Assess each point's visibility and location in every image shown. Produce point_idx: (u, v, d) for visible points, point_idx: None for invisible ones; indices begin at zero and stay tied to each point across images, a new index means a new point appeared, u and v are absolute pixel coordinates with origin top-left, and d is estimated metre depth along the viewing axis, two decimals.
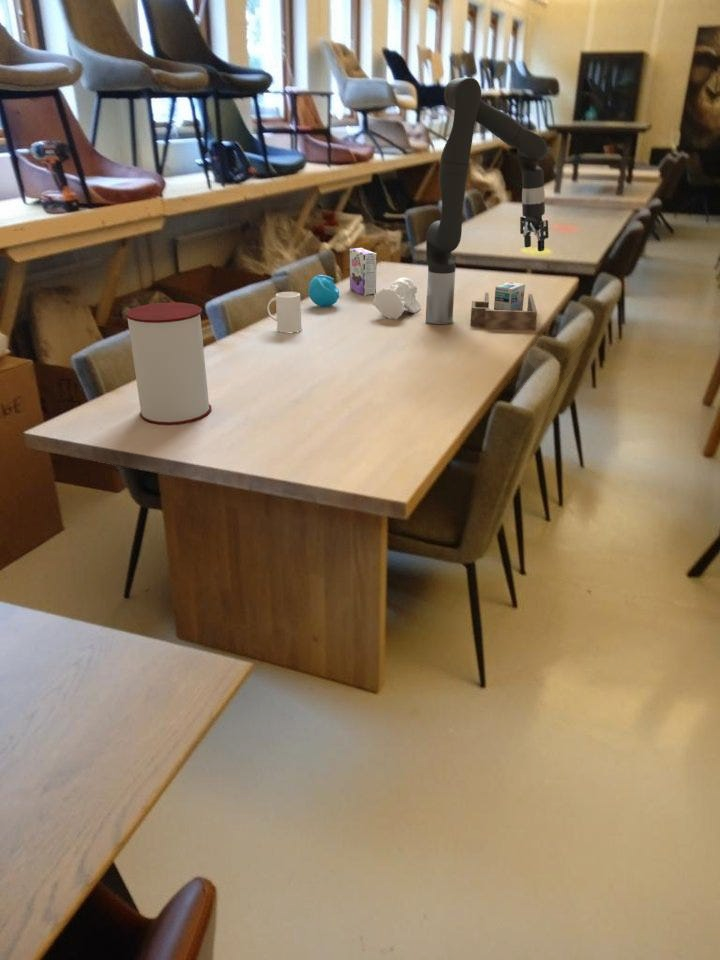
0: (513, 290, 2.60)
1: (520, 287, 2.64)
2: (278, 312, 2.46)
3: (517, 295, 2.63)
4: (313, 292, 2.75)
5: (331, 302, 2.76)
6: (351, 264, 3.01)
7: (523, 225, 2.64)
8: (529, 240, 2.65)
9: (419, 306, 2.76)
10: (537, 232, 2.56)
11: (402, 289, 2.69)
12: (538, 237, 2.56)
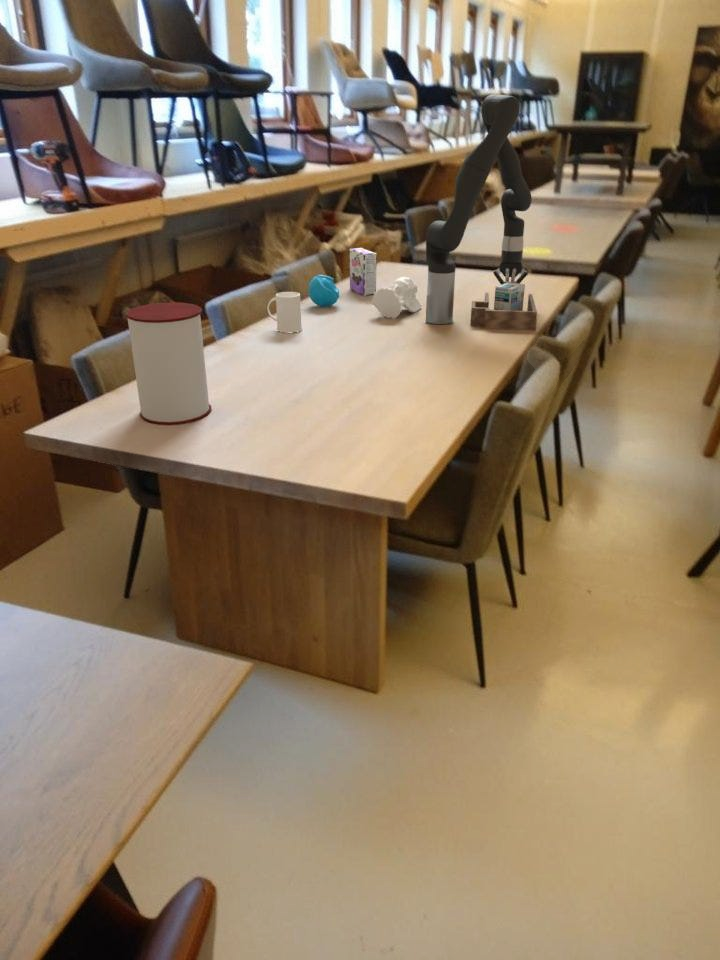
0: (513, 290, 2.60)
1: (520, 287, 2.64)
2: (278, 312, 2.46)
3: (517, 295, 2.63)
4: (313, 292, 2.75)
5: (331, 302, 2.76)
6: (351, 264, 3.01)
7: (500, 277, 2.73)
8: None
9: (419, 306, 2.76)
10: None
11: (402, 288, 2.70)
12: None
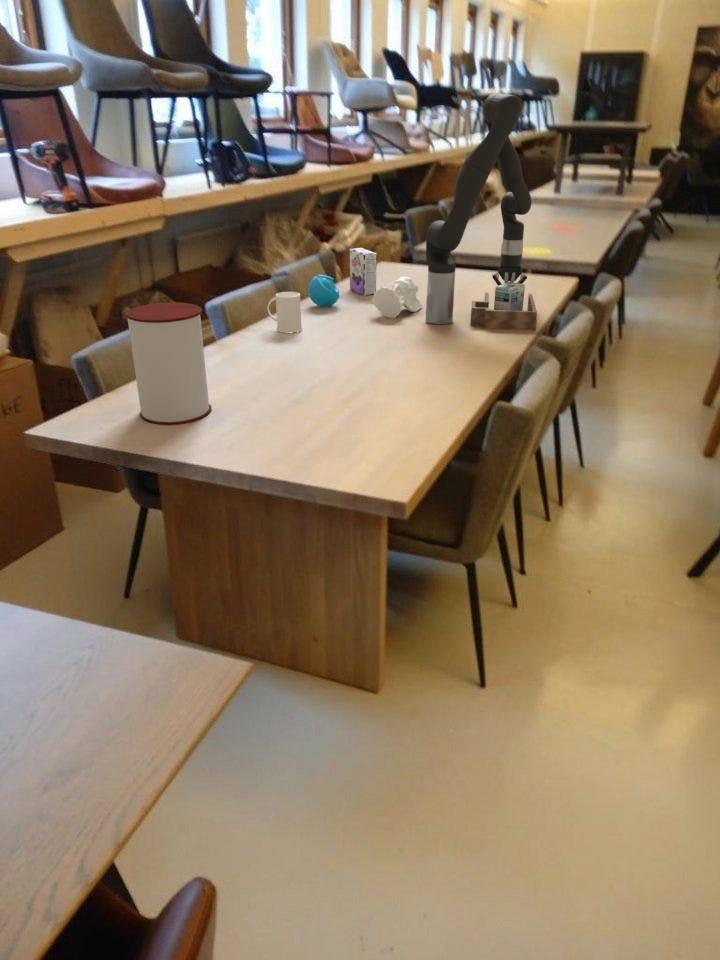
0: (513, 290, 2.60)
1: (520, 287, 2.64)
2: (278, 312, 2.46)
3: (517, 295, 2.63)
4: (313, 292, 2.75)
5: (331, 302, 2.76)
6: (351, 264, 3.01)
7: None
8: None
9: (420, 305, 2.76)
10: None
11: (402, 288, 2.70)
12: None
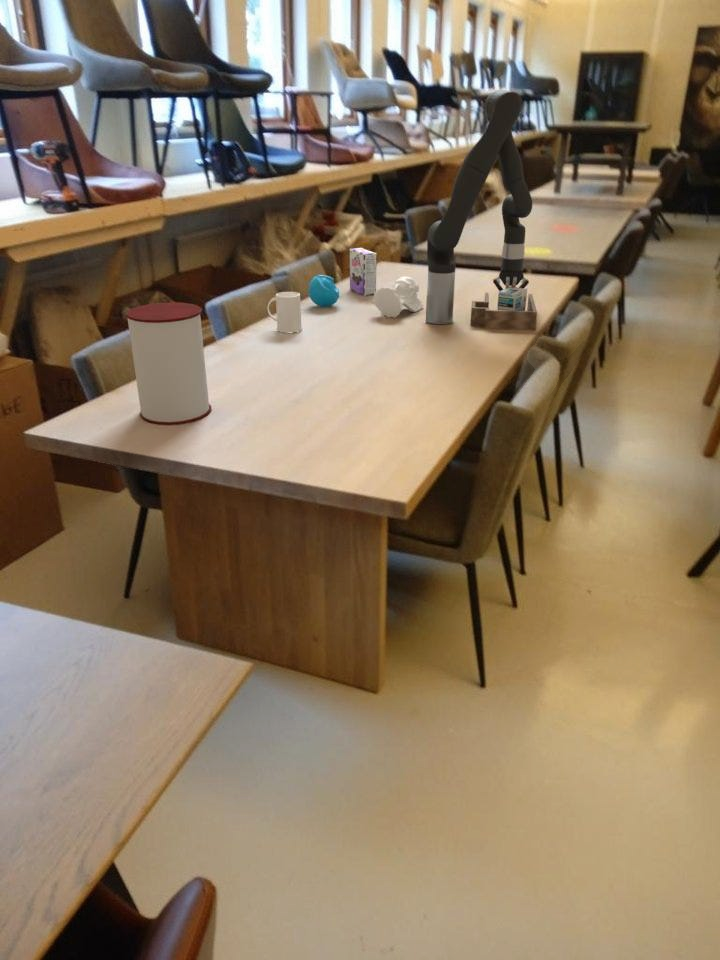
0: (517, 295, 2.53)
1: (523, 292, 2.57)
2: (278, 312, 2.46)
3: (521, 300, 2.56)
4: (313, 292, 2.75)
5: (331, 302, 2.76)
6: (351, 264, 3.01)
7: (500, 285, 2.63)
8: None
9: (421, 305, 2.77)
10: None
11: (403, 288, 2.70)
12: None
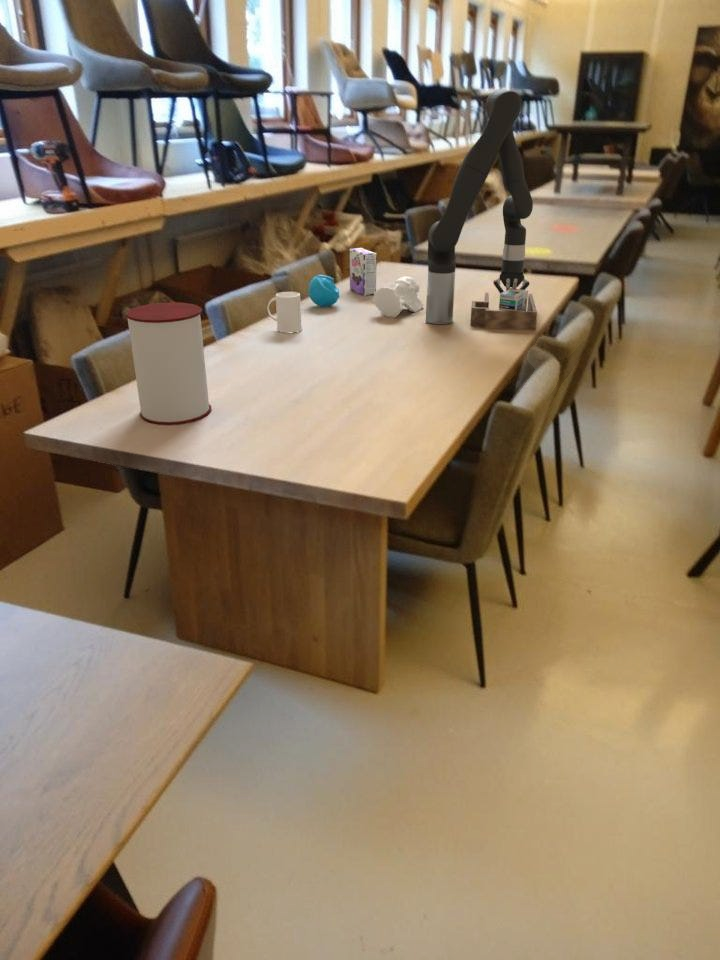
0: (519, 297, 2.50)
1: (524, 293, 2.54)
2: (278, 312, 2.46)
3: (522, 301, 2.54)
4: (313, 292, 2.75)
5: (331, 302, 2.76)
6: (351, 264, 3.01)
7: (500, 287, 2.60)
8: None
9: (421, 305, 2.77)
10: None
11: (403, 288, 2.71)
12: None
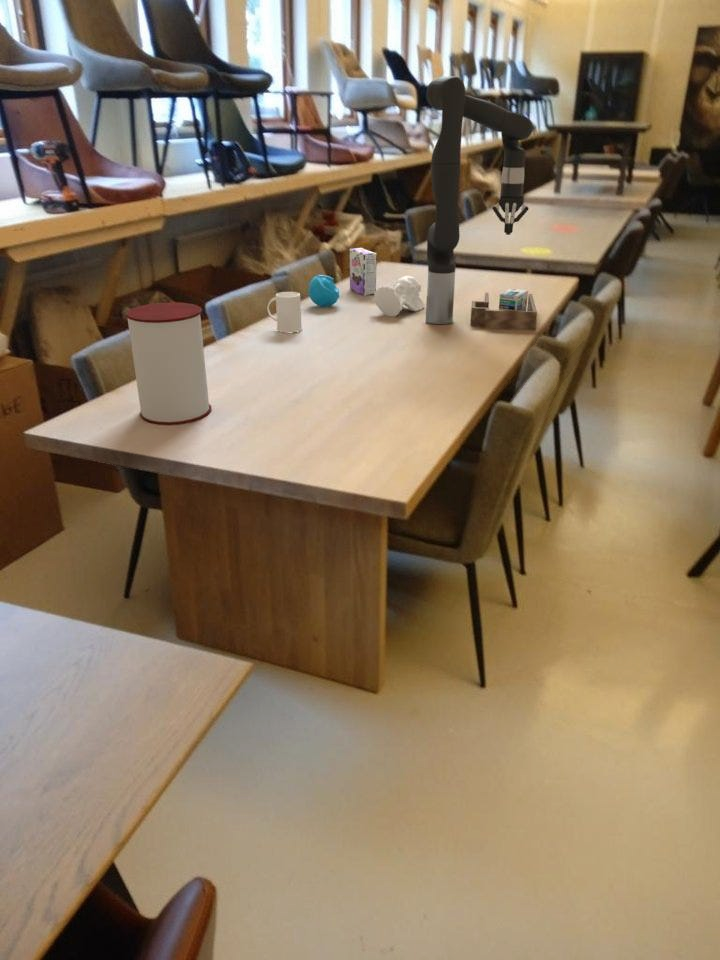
0: (519, 297, 2.50)
1: (524, 294, 2.54)
2: (278, 312, 2.46)
3: (522, 302, 2.54)
4: (313, 292, 2.75)
5: (331, 302, 2.76)
6: (351, 264, 3.01)
7: (499, 212, 2.59)
8: None
9: (423, 305, 2.77)
10: (514, 215, 2.58)
11: (404, 287, 2.72)
12: (512, 220, 2.59)
